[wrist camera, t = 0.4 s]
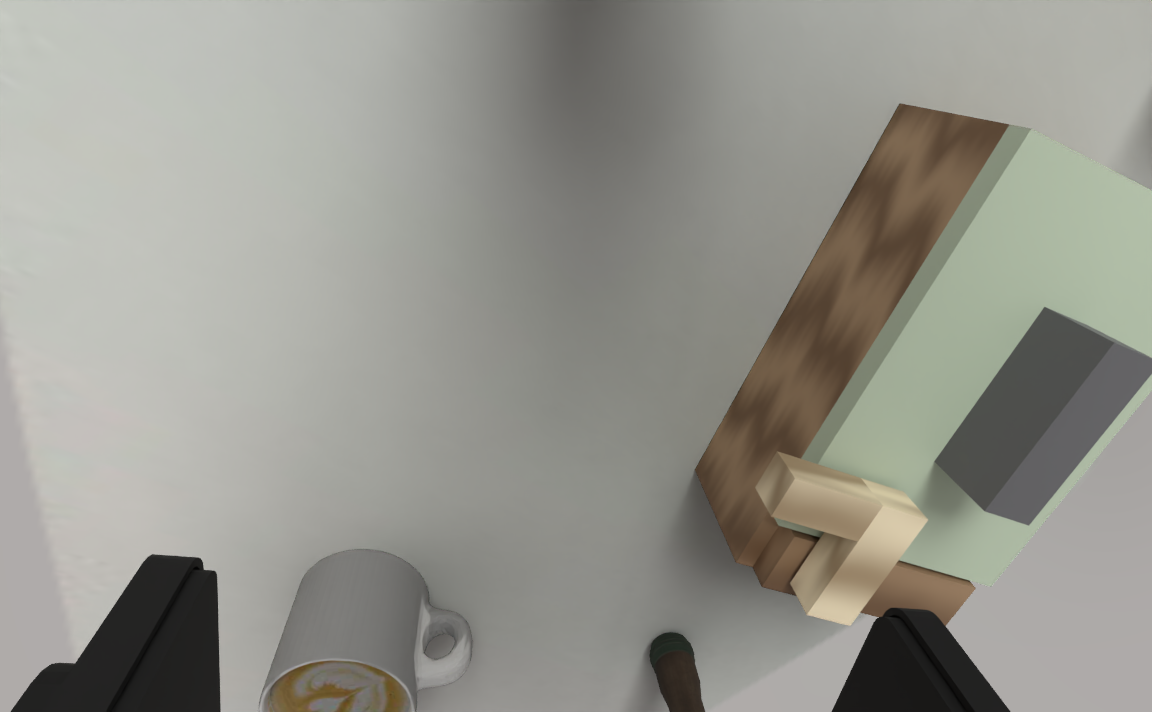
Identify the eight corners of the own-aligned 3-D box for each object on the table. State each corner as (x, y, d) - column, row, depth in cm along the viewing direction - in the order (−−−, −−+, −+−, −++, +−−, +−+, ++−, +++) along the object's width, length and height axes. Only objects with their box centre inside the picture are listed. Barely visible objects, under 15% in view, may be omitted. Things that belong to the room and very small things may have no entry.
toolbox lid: (1009, 124, 33) (1109, 143, 28) (1239, 241, 37) (1365, 278, 32) (769, 509, 42) (809, 581, 36) (976, 570, 45) (1040, 643, 40)
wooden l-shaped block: (777, 451, 37) (794, 478, 35) (903, 491, 39) (928, 519, 37) (710, 561, 40) (722, 593, 38) (831, 594, 42) (850, 625, 40)
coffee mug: (296, 641, 55) (257, 760, 46) (300, 543, 51) (258, 653, 42) (464, 651, 58) (458, 766, 49) (480, 558, 54) (477, 665, 45)
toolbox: (899, 103, 42) (1034, 129, 31) (1094, 199, 46) (1270, 250, 35) (694, 469, 52) (744, 582, 42) (868, 522, 56) (954, 636, 46)
